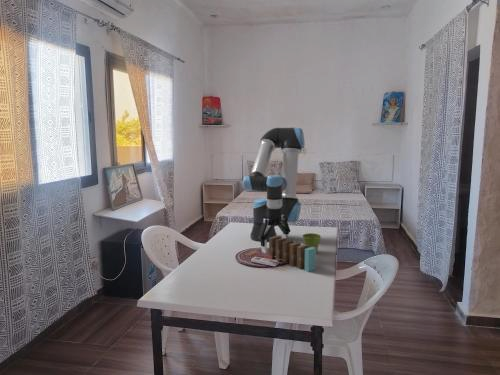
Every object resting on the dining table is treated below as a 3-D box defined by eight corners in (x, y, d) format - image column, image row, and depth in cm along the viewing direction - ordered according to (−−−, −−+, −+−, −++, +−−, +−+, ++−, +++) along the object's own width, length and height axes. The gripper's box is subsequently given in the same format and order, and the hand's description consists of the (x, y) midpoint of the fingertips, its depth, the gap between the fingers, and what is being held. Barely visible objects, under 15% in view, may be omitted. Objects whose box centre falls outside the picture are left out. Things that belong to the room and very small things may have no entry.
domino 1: (269, 257, 184) (269, 237, 183) (276, 255, 188) (276, 235, 186) (272, 258, 183) (272, 238, 181) (279, 256, 186) (279, 236, 184)
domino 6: (304, 270, 167) (304, 249, 165) (311, 267, 170) (312, 246, 169) (308, 272, 165) (308, 250, 164) (315, 269, 169) (316, 247, 167)
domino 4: (289, 265, 174) (289, 244, 172) (296, 262, 177) (297, 242, 176) (293, 266, 172) (293, 245, 171) (300, 263, 176) (300, 243, 174)
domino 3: (282, 262, 177) (282, 242, 176) (289, 259, 181) (289, 239, 179) (285, 263, 176) (285, 243, 174) (293, 261, 179) (293, 240, 177)
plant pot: (319, 256, 186) (319, 239, 184) (300, 254, 189) (300, 237, 187) (321, 250, 194) (322, 234, 193) (303, 248, 198) (304, 232, 196)
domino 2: (275, 259, 181) (275, 239, 179) (282, 257, 184) (283, 237, 183) (278, 261, 179) (278, 240, 178) (286, 258, 182) (286, 238, 181)
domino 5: (296, 267, 170) (297, 246, 169) (304, 265, 174) (304, 244, 172) (300, 269, 169) (300, 247, 167) (307, 266, 172) (308, 245, 170)
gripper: (260, 212, 170) (260, 257, 174) (297, 204, 186) (297, 246, 190) (249, 209, 176) (250, 253, 179) (286, 202, 192) (286, 242, 195)
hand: (274, 249), depth 185 cm, fingers open, 13 cm apart
